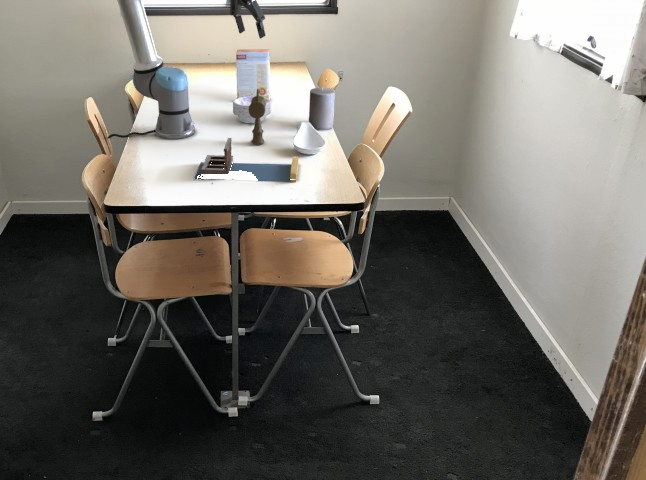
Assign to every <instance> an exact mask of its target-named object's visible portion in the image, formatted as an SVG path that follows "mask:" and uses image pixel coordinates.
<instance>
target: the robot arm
mask: <svg viewBox="0 0 646 480" xmlns="http://www.w3.org/2000/svg"><path fill="white" fill-rule="evenodd" d="M117 4H118V7H119V11H120V15H121V17H122V22H123V24H124V28H125V32H126V34H127V37H128V41H129V45H130V47H131V48H130V49H131V51H132V54H133V58H134V60H135V62H134V64H133V66H132V67H133V74H132V85H133V86H134V89H135V90H136V91H137V92H138V93H139V94H140V95H142V97H145V98H149V99H152V100H154V101H156V102H157V107H158V108H157V109H158V116H157V121H156V125H155V129H153V130H148V131H145V132H139V131H132V132H129V133H127V134H124V135H123V134H119V133H118V134H117V133H111V134H109V135H108V136H107V139H108V140H109V139H111V138H112V137H117V138H120V139H121V138H122V139H126V138H129V137H131V136H134V135H135V136H146V135H148V134H149V135H150V134H154V133H155V136H156V137H158V138H160V139H161V138H162V139H164V140H165V139H166V140H180V139H187V138H189V137H192V136H194V135H195V133H196V125H195V124H196V123H195V120H193V118H192V116H191V113H190V103H189V102H190V99H189V80H188V75H187V73H186V71H184V69H182V68H179V67H173V66H165V63H164V59H163V58H162V57H161V56H159V55H158V53H157V50H156V46H155V42H154V39H153V36H152V35H153V34H152V32H151V28H150V25H149V21H148V17H147V13H146V9H145V6H144V3H143V0H117ZM229 4H230V5H229V15H230V16H233V18H234V20H235V23H236V24H235V25H236V26H237V30H238V33H239V34H242V33H243V32H245V31H246V28H245V25H244V20H243V17H242V15H241V10H242V7H243V8H245V9H246V10H248V12H249V13H250V15H251V16H252V17H253V19H254V20H255V27H256V30H257V34H258V37H259V38H258V39H260V40H261V39H262V38H265V37H266V31H265V26H264V22H263V21H265V20H266V16H265V14H264V12H263V11H262V8H261V6H260V5H259V2H258V1H257V0H230V1H229Z"/></svg>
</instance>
